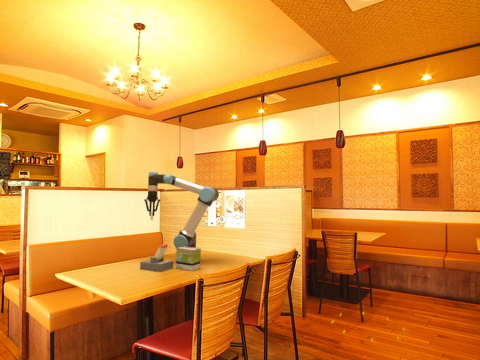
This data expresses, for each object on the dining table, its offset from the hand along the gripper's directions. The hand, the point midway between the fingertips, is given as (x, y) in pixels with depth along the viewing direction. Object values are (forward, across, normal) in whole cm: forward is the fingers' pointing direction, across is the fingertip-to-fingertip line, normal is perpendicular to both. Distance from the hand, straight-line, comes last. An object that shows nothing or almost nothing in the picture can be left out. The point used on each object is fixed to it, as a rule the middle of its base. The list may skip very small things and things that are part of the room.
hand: (151, 220), depth 245 cm
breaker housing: (+32, -10, +28) cm, 44 cm away
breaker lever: (+26, -10, +28) cm, 40 cm away
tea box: (+33, -32, +28) cm, 54 cm away
